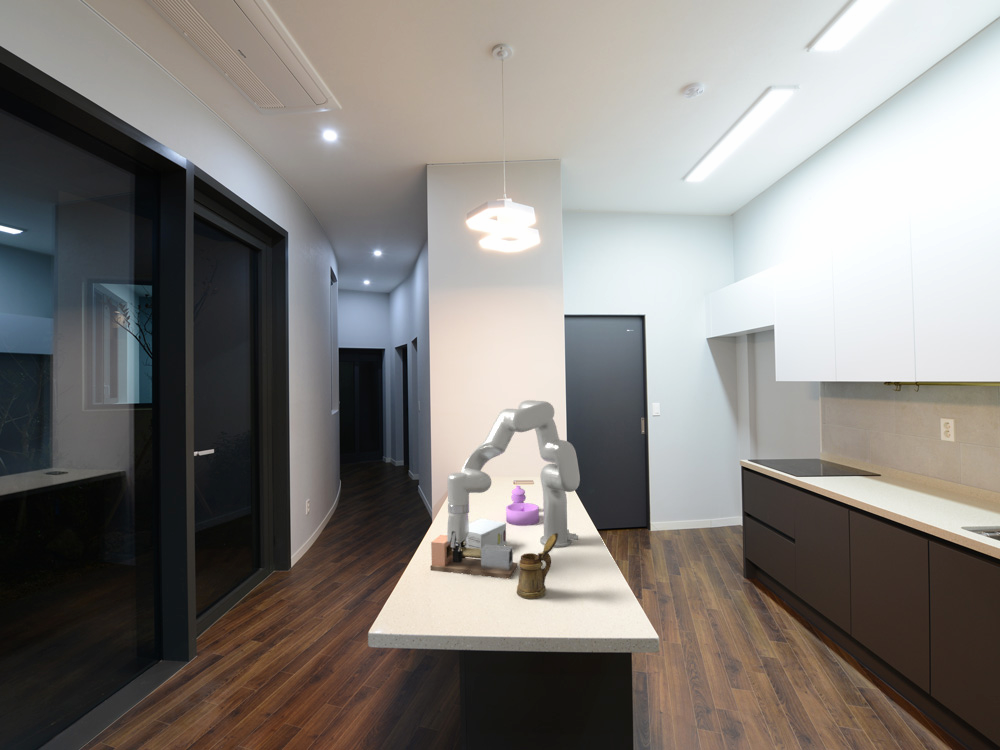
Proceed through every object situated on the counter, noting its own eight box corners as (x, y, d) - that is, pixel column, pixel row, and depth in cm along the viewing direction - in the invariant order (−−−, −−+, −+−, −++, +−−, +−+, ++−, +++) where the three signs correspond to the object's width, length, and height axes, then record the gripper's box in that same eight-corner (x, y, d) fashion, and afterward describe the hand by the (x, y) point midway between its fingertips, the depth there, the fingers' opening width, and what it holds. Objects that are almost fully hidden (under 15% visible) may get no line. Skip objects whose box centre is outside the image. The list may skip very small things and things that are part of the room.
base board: (517, 567, 165) (517, 562, 165) (510, 578, 156) (510, 574, 156) (441, 559, 173) (441, 555, 173) (430, 570, 164) (430, 565, 164)
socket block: (453, 557, 171) (452, 535, 171) (444, 566, 163) (444, 543, 163) (440, 556, 172) (440, 534, 172) (431, 564, 165) (431, 542, 165)
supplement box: (481, 559, 173) (481, 534, 173) (454, 552, 180) (454, 528, 181) (507, 545, 187) (506, 522, 187) (480, 539, 194) (480, 517, 194)
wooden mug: (562, 596, 142) (561, 537, 142) (519, 600, 140) (518, 540, 140) (555, 584, 151) (554, 528, 151) (514, 587, 149) (513, 531, 149)
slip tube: (497, 558, 164) (496, 548, 164) (494, 561, 161) (494, 551, 161) (443, 552, 170) (443, 543, 170) (439, 556, 166) (439, 546, 166)
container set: (541, 525, 212) (541, 496, 212) (508, 526, 210) (507, 497, 210) (532, 509, 237) (532, 483, 237) (502, 511, 235) (502, 485, 235)
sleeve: (512, 565, 163) (512, 546, 163) (509, 571, 158) (508, 551, 158) (485, 562, 166) (485, 544, 166) (481, 568, 161) (480, 549, 161)
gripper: (457, 501, 175) (458, 550, 175) (439, 514, 159) (440, 568, 159) (476, 502, 173) (477, 552, 173) (460, 515, 157) (461, 570, 157)
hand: (459, 559), depth 166 cm, fingers closed on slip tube, 3 cm apart
